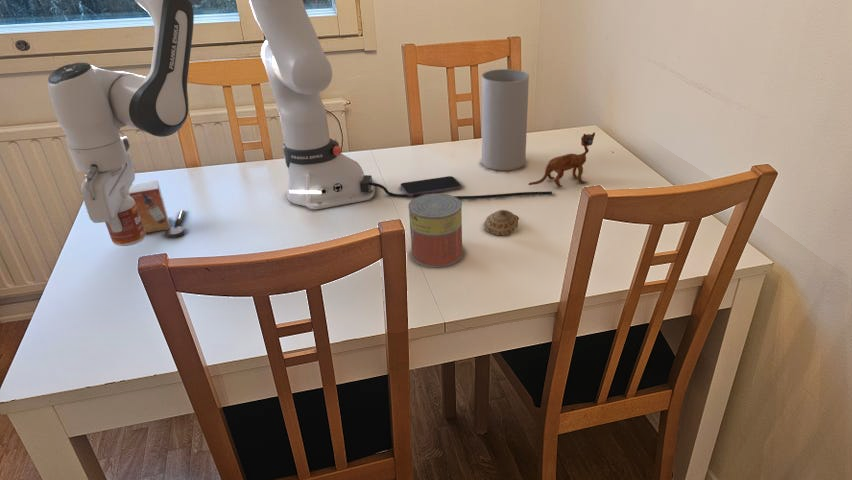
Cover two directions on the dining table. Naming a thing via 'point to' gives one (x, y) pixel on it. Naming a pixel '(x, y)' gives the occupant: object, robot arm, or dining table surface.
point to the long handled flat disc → (176, 227)
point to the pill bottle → (128, 223)
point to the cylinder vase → (504, 118)
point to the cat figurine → (568, 163)
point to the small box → (150, 205)
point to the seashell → (501, 223)
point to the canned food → (436, 229)
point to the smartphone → (430, 185)
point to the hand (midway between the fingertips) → (123, 221)
